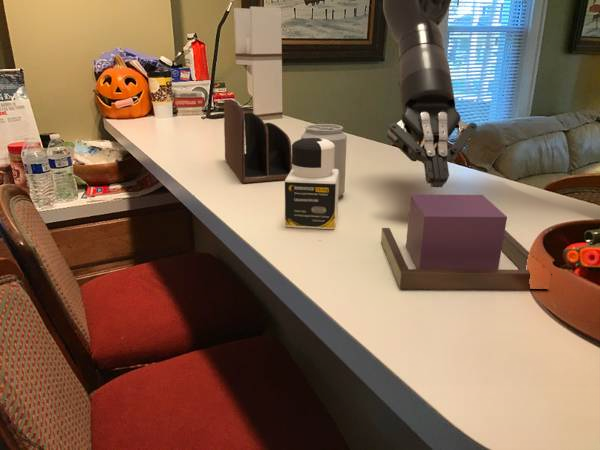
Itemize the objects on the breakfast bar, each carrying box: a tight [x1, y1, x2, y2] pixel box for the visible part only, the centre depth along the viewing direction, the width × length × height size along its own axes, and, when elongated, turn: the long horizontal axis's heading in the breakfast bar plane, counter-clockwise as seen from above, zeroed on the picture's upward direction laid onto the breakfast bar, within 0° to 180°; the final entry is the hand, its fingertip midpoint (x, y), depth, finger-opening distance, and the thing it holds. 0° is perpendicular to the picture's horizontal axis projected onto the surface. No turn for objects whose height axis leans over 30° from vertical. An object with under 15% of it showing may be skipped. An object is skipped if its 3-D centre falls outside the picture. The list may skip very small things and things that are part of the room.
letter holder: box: [223, 98, 292, 185], centre depth 95 cm, size 10×20×14 cm, turn 18°
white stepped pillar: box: [233, 6, 283, 121], centre depth 159 cm, size 11×11×35 cm
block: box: [405, 193, 508, 270], centre depth 56 cm, size 9×8×7 cm
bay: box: [380, 227, 531, 291], centre depth 56 cm, size 16×13×2 cm
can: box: [300, 123, 348, 199], centre depth 79 cm, size 8×8×12 cm
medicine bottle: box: [284, 138, 339, 230], centre depth 68 cm, size 7×7×12 cm
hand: (438, 184), depth 64 cm, fingers closed
